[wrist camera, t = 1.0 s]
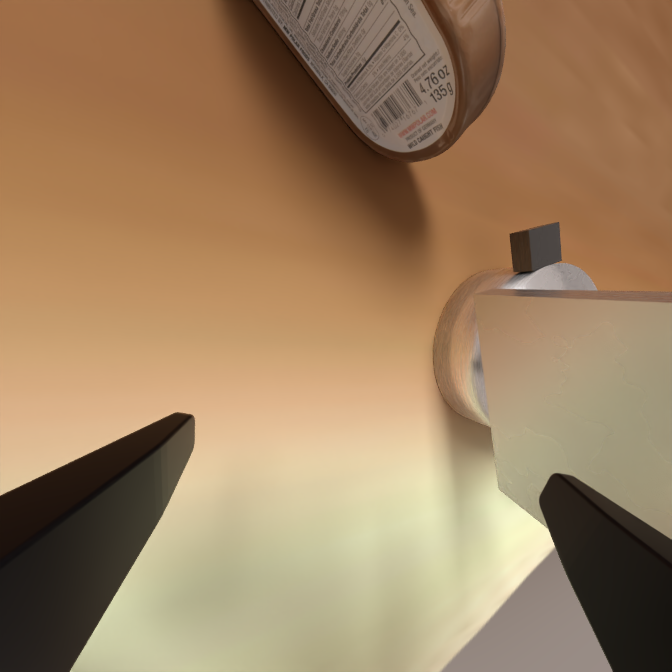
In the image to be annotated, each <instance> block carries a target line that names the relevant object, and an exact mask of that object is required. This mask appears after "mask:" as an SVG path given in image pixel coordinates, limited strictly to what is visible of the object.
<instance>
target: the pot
mask: <svg viewBox="0 0 672 672" xmlns="http://www.w3.org/2000/svg"><path fill="white" fill-rule="evenodd" d="M510 243H511V253H512V263H513V268H506V269H495V270H487V271H482V272H479V273H477V274H475V275H473V276H471V277H470V278H468V279H467V280H466V281H464V282H463V283H462V284H461V285H460V286H459V287H458V288H457V289H456V290H455V292H454V293H453V294H452V296H451V297H450V299H449V300H448V302H447V304H446V306H445V307H444V309H443V312H442V314H441V317H440V319H439V322H438V326H437V329H436V334H435V339H434V349H433V363H434V372H435V376H436V381H437V384H438V387H439V389H440V392H441V394H442V396H443V398H444V399H445V401H446V402H447V403H448V405H449V406H450V407H451V408H452V409H453V410H454V411H455V412H457V413H458V414H460V415H462V416H464V417H466V418H469V419H471V420H473V421H476V422H478V423H480V424H483V425H485V426H488V427H490V419H489V412H488V404H487V396H486V389H485V381H484V374H483V366H482V358H481V351H480V343H479V335H478V328H477V320H476V313H475V305H474V297H473V294H476V293H479V292H483V291H486V290H489V289H537V290H594V291H598V290H597V288H596V286H595V284H594V283H593V281H592V280H591V278H590V277H589V276H588V275H587V274H586V273H585V272H584V271H583V270H581V269H580V268H578V267H576V266H574V265H571V264H566V263H560V264H554V263H556V262H559V261H562V259H561V244H560V228H559V222H557V223H552V224H547V225H542V226H538V227H534V228H530V229H526V230H522V231H519V232H515V233H511V234H510ZM490 428H491V427H490Z"/></svg>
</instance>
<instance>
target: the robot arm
mask: <svg viewBox="0 0 672 672" xmlns="http://www.w3.org/2000/svg"><path fill="white" fill-rule="evenodd" d="M194 442H195V418H194V416H193V415H191V414H186V413H179V412H177V413H173V414H171V415H169V416H167V417H165V418H163V419H161V420H159V421H157V422H154V423H152V424H150V425H148V426H146V427H144V428H142V429H140V430H138V431H135V432H133V433H131V434H129V435H127V436H125V437H123V438H121V439H119V440H117V441H114V442H112V443H110V444H108V445H106V446H104V447H102V448H100V449H98V450H95V451H93V452H91V453H89V454H87V455H85V456H83V457H81V458H79V459H76V460H74V461H72V462H70V463H68V464H66V465H64V466H62V467H60V468H58V469H55V470H53V471H51V472H49V473H47V474H45V475H43V476H41V477H39V478H36V479H34V480H32V481H30V482H28V483H26V484H24V485H22V486H20V487H17V488H15V489H13V490H11V491H9V492H7V493H5V494H3V495H1V496H0V672H70V670H71V668H72V667H73V665H74V663H75V662H76V660H77V658H78V657H79V655H80V653H81V651H82V650H83V648H84V646H85V645H86V643H87V641H88V640H89V638H90V636H91V635H92V633H93V631H94V630H95V628H96V626H97V625H98V623H99V621H100V620H101V618H102V616H103V614H104V613H105V611H106V609H107V608H108V606H109V604H110V603H111V601H112V599H113V598H114V596H115V594H116V593H117V591H118V589H119V588H120V586H121V584H122V583H123V581H124V579H125V578H126V576H127V574H128V572H129V571H130V569H131V567H132V566H133V564H134V562H135V561H136V559H137V557H138V556H139V554H140V552H141V551H142V549H143V547H144V546H145V544H146V542H147V541H148V539H149V537H150V536H151V534H152V532H153V530H154V529H155V527H156V525H157V524H158V522H159V520H160V518H161V517H162V515H163V513H164V511H165V509H166V507H167V505H168V503H169V501H170V498H171V496H172V494H173V492H174V490H175V488H176V486H177V483H178V481H179V479H180V477H181V475H182V473H183V470H184V468H185V466H186V464H187V462H188V460H189V458H190V455H191V453H192V451H193V448H194ZM539 506H540V509H541V511H542V514H543V516H544V519H545V521H546V524H547V527H548V529H549V532H550V534H551V537H552V540H553V542H554V545H555V547H556V550H557V552H558V555H559V558H560V560H561V563H562V565H563V568H564V570H565V572H566V575H567V577H568V579H569V581H570V583H571V586H572V588H573V590H574V592H575V594H576V596H577V598H578V600H579V602H580V604H581V606H582V608H583V610H584V612H585V615H586V617H587V619H588V621H589V623H590V625H591V627H592V629H593V631H594V633H595V635H596V637H597V639H598V642H599V644H600V646H601V648H602V650H603V652H604V654H605V656H606V658H607V660H608V662H609V664H610V666H611V668H612V671H613V672H672V539H670V538H669V537H667V536H666V535H664V534H662V533H661V532H659V531H658V530H656V529H655V528H653V527H652V526H650V525H648V524H647V523H645V522H644V521H642V520H641V519H639V518H638V517H636V516H635V515H633V514H631V513H630V512H628V511H627V510H625V509H624V508H622V507H621V506H619V505H618V504H616V503H614V502H613V501H611V500H610V499H608V498H607V497H605V496H604V495H602V494H600V493H599V492H597V491H596V490H594V489H593V488H591V487H590V486H588V485H587V484H585V483H583V482H582V481H580V480H579V479H577V478H576V477H574V476H572V475H568V474H562V473H554V474H552V475H551V476H550V477H549V479H548V481H547V483H546V485H545V487H544V488H543V490H542V492H541V494H540V496H539Z"/></svg>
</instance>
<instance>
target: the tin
mask: <svg viewBox="0 0 672 672" xmlns="http://www.w3.org/2000/svg"><path fill="white" fill-rule="evenodd" d="M253 2H254V3H255V4H256V6H257V7H258V8H259V9H260V11H261V12H262V13H263V15H264V16H265V17H266V19H267V20H268V21H269V23H270V24H271V25H272V26H273V28H274V29H275V30H276V32H277V33H278V34H279V36H280V37H281V38H282V40H283V41H284V42H285V44H286V45H287V46H288V47H289V49H290V50H291V51H292V53H293V54H294V55H295V57H296V58H297V59H298V61H299V62H300V63H301V65H302V66H303V67H304V68H305V70H306V71H307V72H308V74H309V75H310V76H311V78H312V79H313V80H314V81H315V83H316V84H317V85H318V87H319V88H320V89H321V91H322V92H323V93H324V94H325V96H326V97H327V98H328V100H329V101H330V102H331V104H332V105H333V106H334V108H335V109H336V110H337V111H338V113H339V114H340V115H341V117H342V118H343V119H344V121H345V122H346V123H347V125H348V126H349V127H350V128H351V129H352V130H353V132H354V133H355V134H356V135H357V136H358V137H359V138H360V139H361V140H362V141H363V142H364V143H366V144H367V145H368V146H369V147H371V148H372V149H373V150H375V151H376V152H378V153H380V154H382V155H384V156H386V157H388V158H391V159H394V160H397V161H402V162H418V161H423V160H427V159H430V158H433V157H436V156H438V155H440V154H442V153H443V152H445V151H446V150H448V149H449V148H450V147H451V146H452V145H453V144H454V143H455V142H456V141H457V140H458V139H459V138H460V136H461V135H462V134H463V133H464V131H465V130H466V129H467V128H468V126H469V125H470V124H471V123H473V122H474V121H475V120H476V119H477V118H478V117H479V116H480V115H481V113H482V112H483V111H484V109H485V108H486V106H487V105H488V103H489V101H490V100H491V98H492V96H493V94H494V93H495V90H496V87H497V85H498V83H499V80H500V76H501V72H502V68H503V63H504V56H505V47H506V27H505V16H504V10H503V4H502V0H253Z"/></svg>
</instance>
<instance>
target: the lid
mask: <svg viewBox="0 0 672 672" xmlns="http://www.w3.org/2000/svg"><path fill="white" fill-rule="evenodd" d="M473 297H474V305H475V313H476V320H477V328H478V335H479V343H480V351H481V358H482V366H483V374H484V381H485V389H486V396H487V404H488V412H489V419H490V427H491V434H492V442H493V450H494V457H495V465H496V473H497V480H498V488H499V490H500V491H501V492H503V493H504V494H505V495H506V496H508V497H509V498H510V499H511V500H513V501H514V502H515V503H516V504H518V505H519V506H520V507H521V508H523V509H524V510H525V511H526V512H528V513H529V514H530V515H531V516H533V517H534V518H535V519H536V520H538V521H539V522H540V523H541V524H543V525H544V526H545V527H546V528H548V527H547V524H546V521H545V519H544V516H543V514H542V511H541V509H540V506H539V496H540V494H541V492H542V490H543V488H544V487H545V485H546V483H547V481H548V479H549V477H550V476H551V475H552V474H554V473H562V474H568V475H572V476H574V477H576V478H577V479H579V480H580V481H582V482H583V483H585V484H587V485H588V486H590V487H591V488H593V489H594V490H596V491H597V492H599V493H600V494H602V495H604V496H605V497H607V498H608V499H610V500H611V501H613V502H614V503H616V504H618V505H619V506H621V507H622V508H624V509H625V510H627V511H628V512H630V513H631V514H633V515H635V516H636V517H638V518H639V519H641V520H642V521H644V522H645V523H647V524H648V525H650V526H652V527H653V528H655V529H656V530H658V531H659V532H661V533H662V534H664V535H666V536H667V537H669V538H670V539H672V292H651V291H594V290H537V289H489V290H486V291H483V292H479V293H476V294H473Z"/></svg>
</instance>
